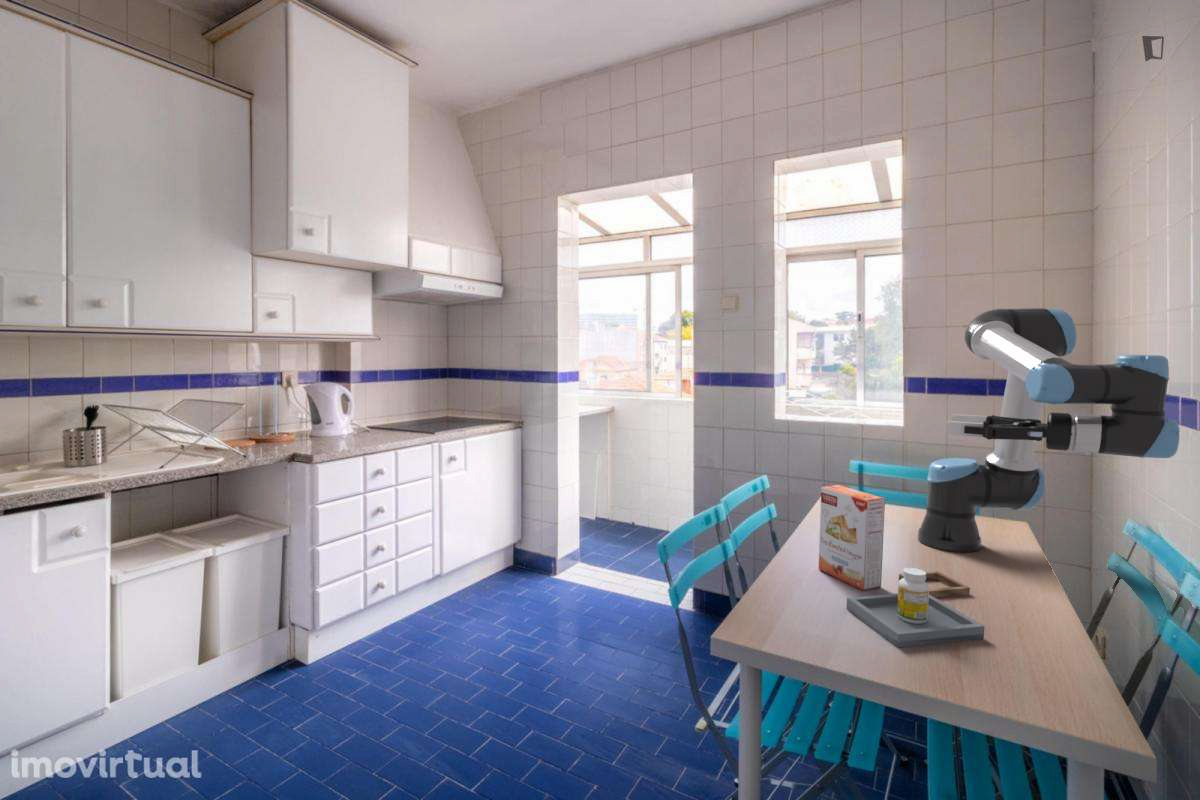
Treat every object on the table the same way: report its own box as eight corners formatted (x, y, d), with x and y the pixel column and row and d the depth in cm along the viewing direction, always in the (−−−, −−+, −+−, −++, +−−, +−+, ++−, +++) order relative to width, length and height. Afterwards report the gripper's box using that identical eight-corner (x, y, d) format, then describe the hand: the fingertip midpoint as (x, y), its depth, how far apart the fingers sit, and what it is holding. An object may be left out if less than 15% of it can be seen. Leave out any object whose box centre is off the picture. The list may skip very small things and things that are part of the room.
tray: (923, 602, 128) (924, 591, 128) (983, 638, 112) (984, 626, 112) (846, 609, 125) (846, 597, 125) (897, 647, 109) (898, 634, 109)
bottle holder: (936, 577, 142) (936, 571, 142) (969, 594, 132) (969, 587, 132) (898, 580, 140) (899, 573, 140) (929, 597, 131) (929, 591, 130)
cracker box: (816, 570, 147) (819, 485, 145) (835, 566, 149) (839, 483, 147) (862, 591, 134) (866, 499, 132) (882, 587, 136) (886, 497, 134)
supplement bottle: (923, 627, 115) (926, 578, 114) (893, 619, 118) (896, 571, 117) (930, 617, 119) (932, 570, 118) (900, 609, 122) (903, 564, 121)
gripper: (1074, 461, 111) (942, 449, 123) (1065, 441, 131) (953, 433, 143) (1077, 420, 110) (944, 412, 122) (1068, 407, 130) (955, 401, 142)
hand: (949, 423), depth 132 cm, fingers open, 13 cm apart
